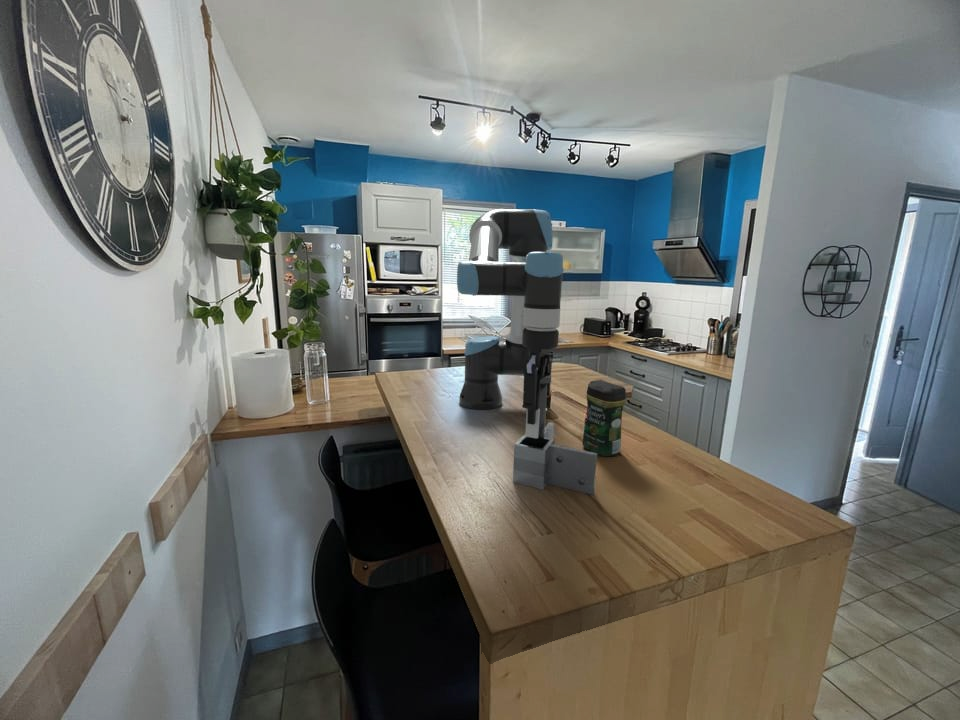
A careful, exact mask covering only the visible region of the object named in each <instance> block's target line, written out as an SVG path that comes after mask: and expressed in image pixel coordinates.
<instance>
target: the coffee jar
mask: <svg viewBox="0 0 960 720" xmlns="http://www.w3.org/2000/svg"><path fill="white" fill-rule="evenodd" d="M626 393H627V392H626V388H625V387H624V386H622V385H617V384H615V383H612V382H608V381H605V380H604V379H603V380H602V379H598V380H597V379H596V380H590V381H589V382H588V385H587V389H586V394H585V396H586V397H585V398H586V403H587V404H586V405H587V408H586V416H585V423H584V429H583V435H582V440H581V441H582V447H584V449H587V451H589V452H594V453H597V456H598V455H599V456H601V457H613V456H616V455H618V454H619V453H620V452H621V450H622V449H621V447H622V418H623V410H624V407H625V404H626V400H627V394H626Z"/></svg>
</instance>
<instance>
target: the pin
mask: <svg viewBox="0 0 960 720" xmlns="http://www.w3.org/2000/svg"><path fill="white" fill-rule="evenodd" d="M537 380H538V379H537ZM547 384H550V385H551V384H552V375H551V376H550V375H548V374H547V375H544V377H543V378H541V379H540V385H541V388H540V397H539V408H538V409H540V416H539V435H538V438H537V439H536V438H531V437H526V445H527V446H532V447H537V448H542V449H543V448H544V431H545V427H546V418H545V414H547V402H546V397H547ZM547 398H548V397H547Z"/></svg>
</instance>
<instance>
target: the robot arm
mask: <svg viewBox="0 0 960 720" xmlns="http://www.w3.org/2000/svg"><path fill="white" fill-rule="evenodd" d="M551 218H552V217H551V215H550V213H549V212H548V211H547V210H544V209H535V208H533V209H532V208H531V209H525V208H523V209H515V208H514V209H513V208H511V209H509V208H508V209H507V208H506V209H505V208H497V209H494V210H490V211H488V212H486V213H484V214H482V215H480V216H479V217H477V219H476V220H474V222H473V223H472V225H471V226H470V229H469V234H468V235H469V237H468V238H469V243H470V250H469V255H468V260H467V261H460V262H459V263H458V264H457V269H456V270H457V271H456V286H457V287H456V288H457V291H458V293H459V294H461V295H470V296H475V297H476V296H502V297H503V296H504V297H509V296H511V312H510V313H511V315H510V331H509V333H507V334H506V335H505V340H504V341H503V340H501V339H500V338H499V336H497V335H495V336H493V335H489V336H488V335H486V336H479V337H474V338H471V339H469V340H468V341H466V343H465V346H464V347H465V349H464V381H463V385H462V388H461V391H460V394H459V397H458V398H459V405H461V406H462V407H465V408H466V409H467V408H468V409H473V410H490V409H496V408H499V407H500V406H502V404H503V395H502V391H501V389H500V385H499V382H498V381H499V376H500V375H501V376H523V388H522V389H523V390H522V391H523V395H522V399H523V400H522V405H521V406H522V408H523V409H526V412H525V413H526V417H525V433H524V434H525V436H526V437H531V438H536V439H537V438H538V435H539V416H540V409H538V408H539V397H540V388H541V385H540V379H541V378H543V377H544V375H547V374H548V375H550V376H551V377H552V365H553V361H554V360H553V359H554V353H551V352H550V350H553V349H556V348H558V346H559V337H560V336H559V334H560V333H559V332H560V331H559V330H558V328H559V327H560V320H561V300H562V299H561V297H562V285H563V273H564V270H565V269H564V267H563V266H564V256H563V254H562V253H561V252H556V251H550V250H552V248H553V242H554V239H553V225H552V224H553V223H552V219H551ZM499 249H503V250H508V252H509V253H508V255H509V257H510V258H511V259H512V260H513V261H512V262H509V261H507V262H506V261H504V262H503V261H500V259H499V258H500V257H499V253H500V252H499ZM537 379H538V380H537ZM550 395H551V383H550V384H547V397H546V403H551V400H552V399H551V398H550ZM546 414H547V413H546ZM546 414H545V419H546Z"/></svg>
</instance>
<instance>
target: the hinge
mask: <svg viewBox="0 0 960 720" xmlns="http://www.w3.org/2000/svg"><path fill="white" fill-rule="evenodd" d="M554 430H555V422H553V421H552V422H551V421H549V422H548V423H547V424H545V431H544V448H543V449H542V448H537V447H532V446H527V445H526V436H525V433H524V434H523V435H521V437H520V438H519V439H518V440H517V441H516V442H515V443H514V446H513V447H514V450H513V467H512V468H513V469H512V470H513V471H512V483H516V484H519V485H522V486H523V485H524V486H527V487H531V488H535V489H539V490H543V491H544V489H545V488H546V486H548V485H551V486H555V487H560V488H563V489H568V490H571V491H572V490H573V491H576V492H579V493H582V494H583V493H584V494H587V495H592V496H593V495H594V492H595V484H596V471H597V460H598V454H597V453H594V452H592V451H590V450H583V449H578V448H573V447H568V446H563V445H558V444H555V438H554V434H555V433H554V432H555V431H554Z"/></svg>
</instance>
